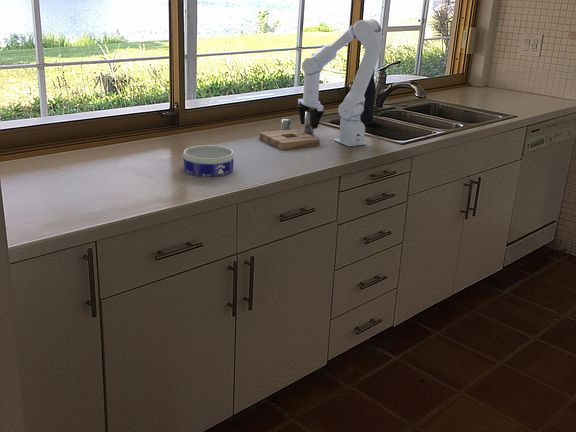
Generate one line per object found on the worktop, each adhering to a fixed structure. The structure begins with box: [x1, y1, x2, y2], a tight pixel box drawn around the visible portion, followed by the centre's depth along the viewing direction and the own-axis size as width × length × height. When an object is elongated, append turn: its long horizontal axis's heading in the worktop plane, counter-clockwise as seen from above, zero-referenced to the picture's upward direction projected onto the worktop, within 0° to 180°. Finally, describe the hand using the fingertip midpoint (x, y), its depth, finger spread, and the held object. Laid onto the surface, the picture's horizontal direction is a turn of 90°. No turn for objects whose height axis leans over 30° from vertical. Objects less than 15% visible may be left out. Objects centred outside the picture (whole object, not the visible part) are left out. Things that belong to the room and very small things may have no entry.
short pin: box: [280, 118, 292, 131], centre depth 246 cm, size 4×4×5 cm
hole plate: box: [258, 128, 321, 151], centre depth 232 cm, size 16×16×2 cm
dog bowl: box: [182, 144, 235, 178], centre depth 196 cm, size 15×15×6 cm
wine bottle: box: [360, 70, 377, 126], centre depth 263 cm, size 6×6×30 cm
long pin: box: [303, 111, 314, 136], centre depth 243 cm, size 4×4×9 cm
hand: (309, 126), depth 244 cm, fingers open, 7 cm apart
